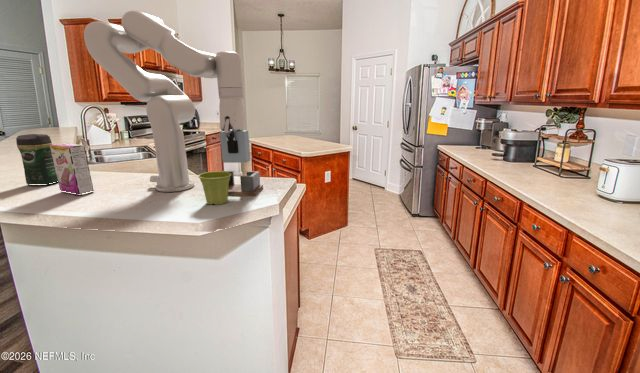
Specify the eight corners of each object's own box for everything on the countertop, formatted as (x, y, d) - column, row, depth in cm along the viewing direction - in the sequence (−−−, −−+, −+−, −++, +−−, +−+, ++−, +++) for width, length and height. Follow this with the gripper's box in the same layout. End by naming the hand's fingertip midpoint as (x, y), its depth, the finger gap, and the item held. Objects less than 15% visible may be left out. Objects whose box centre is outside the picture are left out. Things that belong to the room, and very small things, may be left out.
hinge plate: (211, 194, 107) (211, 191, 107) (221, 187, 116) (221, 184, 115) (255, 195, 106) (255, 192, 105) (263, 188, 114) (262, 184, 114)
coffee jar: (65, 181, 125) (54, 132, 120) (47, 186, 118) (35, 135, 113) (41, 181, 126) (30, 132, 121) (22, 186, 118) (9, 135, 113)
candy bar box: (59, 192, 110) (48, 144, 106) (75, 189, 114) (65, 142, 110) (79, 196, 106) (68, 146, 101) (95, 192, 110) (85, 144, 106)
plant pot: (224, 195, 106) (222, 169, 104) (238, 202, 99) (236, 174, 97) (196, 201, 100) (193, 174, 98) (209, 209, 93) (206, 179, 91)
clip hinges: (214, 190, 107) (212, 175, 106) (223, 184, 115) (221, 170, 113) (253, 191, 106) (252, 176, 105) (260, 185, 113) (259, 171, 112)
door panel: (222, 162, 106) (219, 131, 104) (227, 160, 110) (224, 130, 108) (246, 162, 106) (244, 131, 103) (250, 160, 109) (248, 130, 107)
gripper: (229, 94, 111) (233, 148, 115) (208, 94, 95) (214, 156, 99) (250, 94, 110) (254, 148, 115) (233, 93, 94) (238, 156, 99)
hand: (235, 151), depth 107 cm, fingers closed on door panel, 4 cm apart
